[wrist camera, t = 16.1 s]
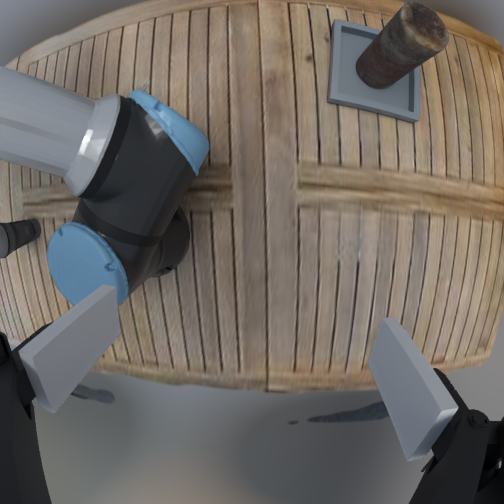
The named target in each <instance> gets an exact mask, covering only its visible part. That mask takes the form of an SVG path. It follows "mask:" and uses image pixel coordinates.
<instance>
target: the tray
mask: <svg viewBox="0 0 504 504" xmlns="http://www.w3.org/2000/svg"><path fill="white" fill-rule="evenodd" d="M380 32H381V30H378V29H374V28H371V27H367V26H363V25H359V24H355V23H351V22H347V21H342V20H338V19H334V22H333V24H332V32H331V52H330V68H329V82H328V95H327V103H333V104H338V105H343V106H348V107H352V108H357V109H361V110H365V111H370V112H374V113H378V114H381V115H385V116H389V117H393V118H396V119H400V120H403V121H406V122H410V123H414V122H418V121H420V66H418V67H417V68H415V69H414V70H412V71H411V72H410V73H408V74H407V75H405V76H404V77H403V78H401V79H400V80H398V81H397V82H396V83H394V84H393V85H391V86H389V87H385V88H375V87H372V86H370V85H368V84H367V83H366V82H365V81H364V80H363V79H362V78H361V77H360V76H359V75H358V73H357V70H356V62H357V60H358V58H359V57H360V55H361V54H362V53H363V52H364V50H365V49H366V48H367V47H368V46H369V45H370V44H371V42H372V41H373V40H374V39H375V38H376V37H377V35H378V34H379V33H380Z"/></svg>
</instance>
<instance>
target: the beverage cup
mask: <svg viewBox="0 0 504 504" xmlns="http://www.w3.org/2000/svg"><path fill="white" fill-rule="evenodd" d="M40 233H41V227H40V224H39V222H38V221H37V220H36V219H31V220H30V219H29V220H22V221H16V222H10V223H0V258H5V257H7V256H8V255H9V254H10V253H12V252H13V251H14V250H16V249H18V248H20V247H22V246H24V245H26V244H28V243H29V242H31V241H33V240H35V239H36V238H38V237H39V236H40Z"/></svg>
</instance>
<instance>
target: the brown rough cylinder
mask: <svg viewBox="0 0 504 504" xmlns="http://www.w3.org/2000/svg"><path fill="white" fill-rule="evenodd" d="M448 41H449V34H448V31H447V29H446V27H445V25H444V23H443V21H442V20H441V19H440V18H439V16H438V15H437V14H436V13H435V12H434V11H433V10H432V9H431V8H430V7H428V6H427V5H424V4H422V3H418V2H412V1H411V2H409V3H406V4H404V5H403V6H402V8H401V9H400V10H399V11H398V12H397V13H396V14H395V15H394V17H393V18H392V19H391V20H390V21H389V22H388V23H387V25H386V26H385V27H384V28H383V30H382V31H381V32H380V33H379V34H378V35H377V37H376V38H375V39H374V40H373V41H372V42H371V44H370V45H369V46H368V47H367V48H366V49H365V50H364V52H363V53H362V54H361V55H360V57H359V58H358V60H357V62H356V70H357V73H358V75H359V76H360V77H361V78H362V79H363V80H364V81H365V82H366V83H367V84H368V85H370V86H372V87H375V88H385V87H389V86H391V85H393V84H394V83H396V82H397V81H398V80H400V79H401V78H403V77H404V76H405V75H407V74H408V73H410V72H411V71H412V70H414V69H415V68H417V67H418V66H420V65H421V64H422V63H424V62H425V61H427V60H428V59H430V58H431V57H433V56H434V55H436V54H438V53H439V52H440V51H442V50H443V49H444V48H445V47H446V46H447V44H448Z"/></svg>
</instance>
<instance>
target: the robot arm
mask: <svg viewBox="0 0 504 504" xmlns="http://www.w3.org/2000/svg"><path fill="white" fill-rule="evenodd" d="M208 151H209V141H208V139H207V137H206V136H205V135H204V133H203V132H202V131H200V130H199V129H198V128H197V127H196V126H195V125H193V124H192V123H191V122H190V121H188V120H187V119H186V118H184V117H183V116H182V115H180V114H179V113H177V112H176V111H175V110H173V109H172V108H170V107H169V106H167V105H164V104H163V103H162V102H160V101H159V100H157V99H156V98H155V97H153V96H151V95H149V94H148V93H146V92H144V91H142V90H138V89H136V90H134V91H133V92H132V93H130V94H129V95H128V99H127V98H125V97H123V96H120V95H118V94H116V93H112V94H109V95H107V96H104V97H102V98H99V99H97V100H93V99H91V98H88V97H86V96H83V95H81V94H78V93H76V92H73V91H71V90H68V89H66V88H63V87H60V86H58V85H55V84H52V83H49V82H47V81H44V80H41V79H38V78H35V77H33V76H30V75H27V74H24V73H21V72H18V71H15V70H11V69H8V68H5V67H2V66H0V160H3V161H6V162H10V163H14V164H17V165H21V166H24V167H28V168H32V169H35V170H39V171H42V172H46V173H49V174H53V175H56V176H60V177H62V178H63V179H64V180H65V182H66V184H67V186H68V188H69V191H70V193H71V194H72V195H74V196H77V197H81V199H80V201H79V204H78V207H77V209H76V212H75V215H74V218H73V220H72V222H67V223H65V224H63V225H62V226H60V228H59V229H57V230H56V231H55V232H54V233H53V235H52V237H51V239H50V241H49V245H48V251H47V259H48V266H49V270H50V273H51V276H52V277H53V279H54V281H55V284H56V286H57V288H58V290H59V291H60V292H61V294H62V295H63V296H64V297H65V298H66V299H67V300H68V301H69V302H70V303H71V304H72V305H74V307H72V308H71V309H70V310H69V311H67V312H66V313H65V314H63V315H62V316H61V317H60V318H58V319H57V320H56V321H55V322H52V323H49V324H47V325H44V326H42V327H41V328H40V329H38V330H37V331H36V332H35V333H33V334H32V335H31V336H30V338H27V339H26V340H25V341H23V342H22V343H21V344H20V345H19V346H17V347H16V348H15V349H14V350H13V351H11V348H10V345H9V342H8V339H7V336H6V335H5V334H4V333H2V332H0V504H52V503H51V500H50V496H49V493H48V488H47V485H46V480H45V476H44V472H43V467H42V462H41V457H40V451H39V445H38V439H37V431H36V423H35V414H34V406H33V404H32V400H33V399H34V398H35V397H36V398H37V400H38V403H39V405H40V407H42V408H44V409H46V410H48V411H50V412H52V413H54V414H55V412H56V411H57V410H58V408H59V407H60V406H61V405H62V403H63V402H64V401H65V400H66V398H67V397H68V396H69V395H70V393H71V392H72V391H73V390H74V389H75V387H76V386H77V385H78V384H79V382H80V381H81V380H82V379H83V377H84V376H85V375H86V374H87V373H88V371H89V370H90V369H91V368H92V367H93V365H94V364H95V363H96V362H97V361H98V360H99V358H100V357H101V356H102V355H103V354H104V352H105V351H106V350H107V349H108V348H109V347H110V345H111V344H112V343H113V342H114V341H115V340H116V338H117V337H118V336H119V335H120V334H121V332H120V324H119V315H118V306H119V305H121V304H122V303H123V302H124V301H125V300H126V298H127V297H128V296H129V295H130V294H131V293H132V292H133V291H135V290H136V289H137V288H138V287H139V286H140V285H141V284H142V283H143V282H144V281H145V280H147V279H148V278H151V277H159V276H162V275H165V274H167V273H168V272H170V271H172V270H173V269H174V268H175V267H176V266H177V265H178V264H179V263H180V262H181V261H182V259H183V258H184V256H185V254H186V252H187V249H188V246H189V239H190V232H189V226H188V222H187V219H186V217H185V215H184V213H183V211H182V210H181V208H180V207H179V204H180V202H181V200H182V199H183V197H184V195H185V193H186V191H187V190H188V188H189V186H190V184H191V182H192V181H193V179H194V177H197V176H198V174H199V169H200V167H201V165H202V163H203V161H204V159H205V157H206V156H207V154H208ZM368 365H369V368H370V370H371V372H372V375H373V377H374V379H375V382H376V384H377V386H378V389H379V391H380V393H381V395H382V398H383V401H384V403H385V405H386V408H387V410H388V413H389V415H390V418H391V420H392V422H393V425H394V428H395V430H396V433H397V435H398V438H399V441H400V443H401V446H402V449H403V451H404V454H405V457H406V459H407V461H411V460H416V459H421V458H424V457H425V456H426V454H427V453H428V452H429V450H430V449H432V451H433V453H434V456H433V457H432V458H431V459H430V461H429V462H428V463H427V464H426V465H425V467H424V468H423V469H422V470H421V472H424V470H425V469H426V470H425V473H424V475H423V477H422V479H421V481H420V483H419V485H418V487H417V489H416V491H415V493H414V495H413V497H412V499H411V500H410V502H409V504H504V417H503V418H502V420H501V421H489V419H488V417H487V416H486V415H485V414H484V413H482V412H480V411H478V410H474V409H472V410H469V409H468V407H467V406H466V404H465V403H464V401H463V400H462V398H461V397H460V396H459V394H458V392H457V391H456V390H454V387H453V385H452V384H450V381H449V380H448V378H447V377H446V375H445V374H444V373H442V372H441V371H440V370H438V369H437V368H432V367H431V365H430V364H429V363H428V361H427V360H426V358H425V357H424V356H423V354H422V353H421V351H420V350H419V349H418V347H417V346H416V344H415V343H414V342H413V340H412V339H411V338H410V336H409V335H408V334H407V332H406V331H405V330H404V328H403V327H402V326H401V324H400V323H399V322H398V320H397V319H396V318H383V317H382V320H381V324H380V327H379V330H378V334H377V337H376V340H375V343H374V346H373V349H372V352H371V355H370V358H369V361H368ZM500 461H502V462H501V468H499V462H500Z"/></svg>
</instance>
